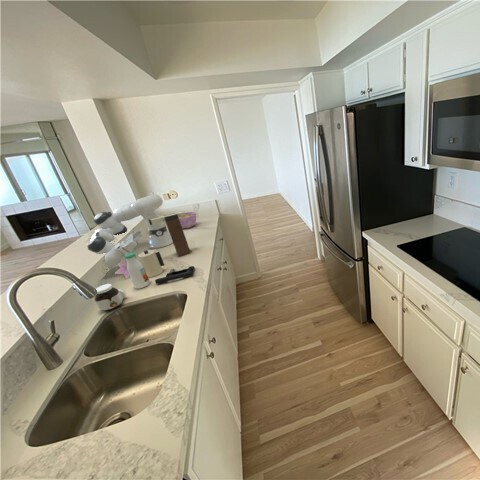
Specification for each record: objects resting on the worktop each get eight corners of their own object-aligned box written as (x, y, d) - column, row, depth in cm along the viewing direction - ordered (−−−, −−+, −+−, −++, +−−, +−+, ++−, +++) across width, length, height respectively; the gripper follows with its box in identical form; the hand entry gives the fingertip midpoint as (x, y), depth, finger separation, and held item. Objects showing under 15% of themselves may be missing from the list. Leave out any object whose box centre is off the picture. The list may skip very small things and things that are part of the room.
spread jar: (100, 314, 130) (89, 295, 125) (101, 304, 138) (91, 285, 134) (129, 304, 136) (119, 284, 131) (128, 294, 144) (119, 276, 140)
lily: (115, 282, 162) (113, 272, 156) (118, 268, 170) (117, 257, 164) (138, 281, 168) (137, 271, 162) (141, 267, 175) (140, 257, 170)
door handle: (160, 270, 163) (153, 281, 148) (194, 262, 168) (191, 272, 153) (162, 275, 164) (155, 286, 149) (196, 267, 169) (193, 277, 154)
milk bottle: (143, 289, 148) (129, 257, 140) (131, 288, 150) (117, 257, 142) (153, 281, 155) (140, 251, 147) (142, 281, 157) (129, 251, 149)
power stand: (176, 252, 193) (163, 215, 181) (188, 249, 197) (175, 212, 185) (178, 257, 185) (164, 218, 174) (190, 253, 189) (177, 215, 178)
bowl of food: (176, 232, 236) (172, 220, 231) (176, 227, 252) (172, 215, 248) (200, 226, 244) (196, 215, 240) (198, 221, 261) (194, 210, 256)
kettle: (142, 280, 158) (132, 257, 152) (141, 274, 166) (131, 252, 159) (166, 272, 165) (158, 249, 159) (165, 267, 172) (156, 245, 166)
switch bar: (149, 223, 175) (148, 219, 174) (185, 215, 186) (183, 210, 185) (150, 225, 173) (148, 220, 172) (186, 216, 184) (184, 211, 183)
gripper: (127, 246, 179) (144, 232, 182) (127, 256, 163) (145, 240, 166) (118, 241, 176) (135, 226, 179) (118, 250, 160) (136, 233, 163)
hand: (140, 232), depth 172 cm, fingers open, 8 cm apart
